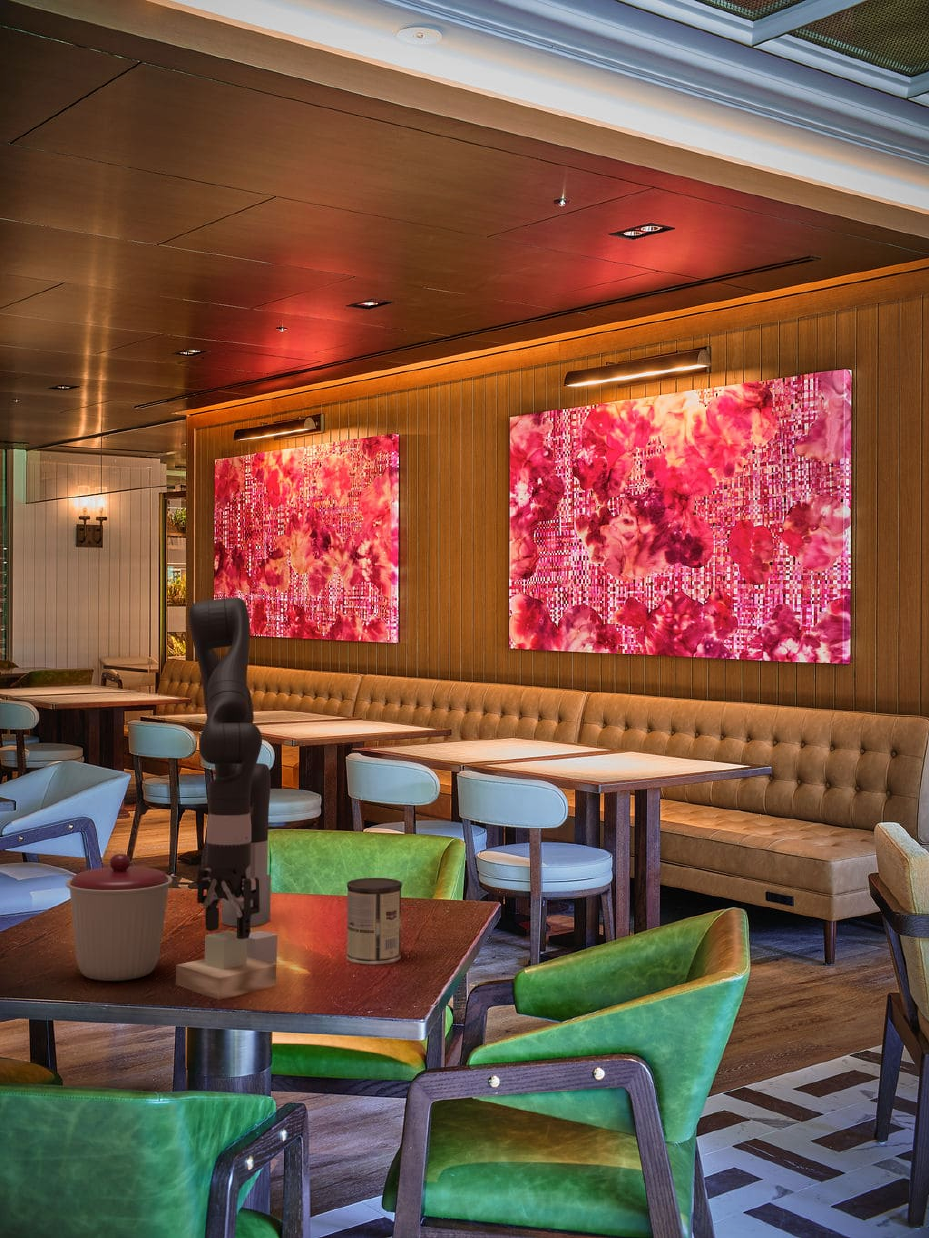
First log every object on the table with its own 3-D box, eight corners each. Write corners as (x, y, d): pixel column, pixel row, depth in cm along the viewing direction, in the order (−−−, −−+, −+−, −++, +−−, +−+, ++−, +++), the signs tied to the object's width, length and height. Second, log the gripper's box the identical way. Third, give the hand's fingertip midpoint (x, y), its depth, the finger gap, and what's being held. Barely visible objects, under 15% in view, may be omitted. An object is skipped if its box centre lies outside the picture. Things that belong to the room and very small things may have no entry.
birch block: (232, 975, 223) (232, 952, 224) (275, 988, 215) (276, 964, 215) (175, 988, 214) (176, 964, 215) (218, 1002, 206) (219, 978, 207)
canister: (84, 960, 230) (86, 844, 231) (182, 962, 230) (184, 846, 230) (48, 987, 212) (51, 861, 213) (154, 989, 212) (157, 864, 212)
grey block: (259, 957, 235) (260, 930, 235) (276, 961, 232) (277, 934, 232) (238, 961, 231) (238, 934, 231) (255, 966, 228) (255, 939, 228)
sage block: (227, 959, 219) (227, 930, 219) (246, 964, 216) (246, 934, 216) (204, 964, 215) (205, 935, 215) (223, 969, 212) (223, 939, 212)
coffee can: (359, 949, 242) (360, 875, 242) (408, 954, 238) (410, 879, 239) (336, 961, 232) (337, 885, 232) (388, 967, 229) (389, 889, 229)
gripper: (272, 841, 213) (271, 937, 213) (221, 832, 223) (219, 923, 223) (237, 847, 208) (235, 945, 208) (186, 836, 217) (184, 930, 217)
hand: (227, 934), depth 215 cm, fingers open, 8 cm apart
